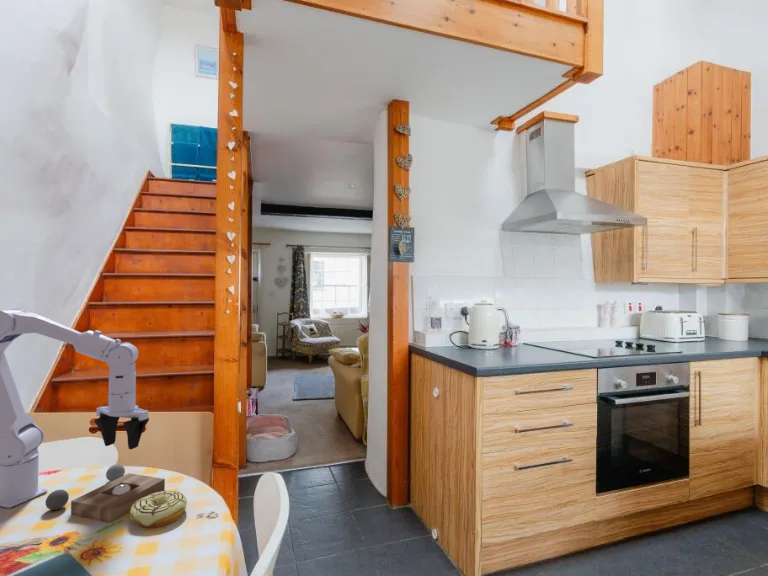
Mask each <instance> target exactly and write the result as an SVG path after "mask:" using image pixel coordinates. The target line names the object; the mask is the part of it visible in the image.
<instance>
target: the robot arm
mask: <svg viewBox="0 0 768 576" xmlns="http://www.w3.org/2000/svg"><path fill="white" fill-rule="evenodd" d="M24 334H25V335H26V334H37V335H38V334H39V335H41V336H42V335H43V336H44V337H48V338H51V339H54V340H57V341H61V342H62V343H67V344H70V345H72V346H73V348H74V350H75V352H76V353H79V354H81V355H84V356H87V357H89V358H92V359H96V360H98V361H101V362H105V363H106V365H107V366H108V368H109V370H108V371H109V375H108V405H106V406H99V407H96V410H95V411H96V412H95V413H96V417H98V418H95V419H94V424H95V425H96V426H97V427H98V429H99V432H100V434H101V437H102V439H103V444H104V446H105V447H108V446H111V445H114V444H116V443H115V442H116V438H117V428H118V424H119V420H120V418H121V419H122V418H123V419H130V420H127V421H123V422H122V424H123V426H124V429H125V431H126V435H127V436H126V437H127V447H128V450H133V449H135V448H139V443H140V440H141V437H142V434H143V432H144V429H145V428H146V425H147V424H148V422H149V421H150V418H149V410H146V409H143V408H140V407H139V405H136V402H137V401H136V393H137V389H136V388H137V386H136V384H137V383H136V382H137V372H136V367H137V366H136V361H137V359H138V358H139V349H138V348H137V347H136V345H134V344H132V343H131V342H130V341H129V342H127V341H126V342H122V340H121V339H119V338H116V339H114V338H112V337H109V336H106V335H103V334H102V331H100V330H97V329H96V330H94V331H93V330H87V331H84V332H80V331H78V330H76V329H73V328H71V327H69V326H66V325H64V324H61V323H59V322H57V321H55V320H52V319H49V318H48V317H45V316H43V315H40V314H38V313H35V312H31V311H27V310H24V309H21V308H11V309H5V310H3V309H2V310H0V507H4V508H7V509H10V508H13V507H16V506H18V505H20V504H22V503H24V502H27V501H29V500H31V499H33V498H35V497H38V496H41V495H43V494H45V493H47V492H48V490H49V489H47V488H43V487H39V466H40V465H39V461H40V459H39V457H40V456H39V455H40V454H39V453H40V452H39V450H38V448H39V446H40V445H41V444H42V443H43V441H44V438H45V433H44V431H43V430H42V428H41V427H40V426H38V425H37V424H36V422H35V420H34V418H33V417H31V416H30V415H29V414H27V413H26V412H25V408H24V406H23V405H24V404H23V402H22V400H21V397H20V394H19V391H18V389H17V386H16V383H15V381H14V376H13V374H12V371H11V369H10V365H9V363H8V360H7V357H6V355H5V351H6V349H7V348H9V346H10V345H11V344H12V343H13V341H14V340H16V339H17V338H19V337H20V336H22V335H24Z"/></svg>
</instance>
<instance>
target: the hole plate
mask: <svg viewBox="0 0 768 576" xmlns="http://www.w3.org/2000/svg"><path fill="white" fill-rule="evenodd" d="M165 480H166V478H163V477H162V478H161V477H155V476H149V475H142V474H138V473H130V472H128V473H126V474H124V476H122V477H120V478H118V479H116V480H114V481H109V482H108V483H106V484H103V485H101V486H100V487H96V488H95V489H94V490H91V491H88V492H87V493H85V494H83V495H81V496H77V498H74V499H72V500H70V516H73V517H79V518H84V519H89V520H93V521H99V522H104V523H109V524H111V523H113V522H114V521H117V520H119V519H120V518H122V517H123V516H125V515H127V514H129V513H130V511H131V507H132V505H133V504H134V503H135V502H136V501H137V500H139V499H141V498H143V497H145V496H148V495H150V494H152V493H156V492H161V491H166V489H165V488H166V487H165V483H166V481H165ZM120 484H127V485H129V486H130V487H131V491H129V492H127V493H125V494H123V495H121V496H119V497H118V496H112V495H111V493H112V491H113V489H114V488H115V487H116V486H118V485H120Z"/></svg>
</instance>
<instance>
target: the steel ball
mask: <svg viewBox="0 0 768 576" xmlns="http://www.w3.org/2000/svg"><path fill="white" fill-rule="evenodd" d="M129 491H131V487H130V486H129V485H127V484H120V485H118V486H116V487H115V488H114V489H113V491H112V493H111V495H112V496H118V497H119V496H121V495H123V494H125V493H127V492H129Z"/></svg>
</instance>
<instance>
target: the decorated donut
mask: <svg viewBox="0 0 768 576" xmlns="http://www.w3.org/2000/svg"><path fill="white" fill-rule="evenodd" d="M187 503H188V501H187V497H186V495H185V494H184V493H183V492H180V491H176V490H165V491H161V492H156V493H152V494H150V495H148V496H145V497H143V498H141V499H139V500H137V501H136V502H135V503H134V504H133V505H132V507H131V511H130V512H129V518H130V519H131V521H132V522H133V523H134V524H135V525H136V526H138V527H141V528H145V527H146V528H154V529H155V528H158V527H164V526H166V525H169V524H173V523H175V522H176V521H177V520H178V519H180V518H181V517H182V516H183V515H184V514H185V511H186V509H187Z"/></svg>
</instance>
